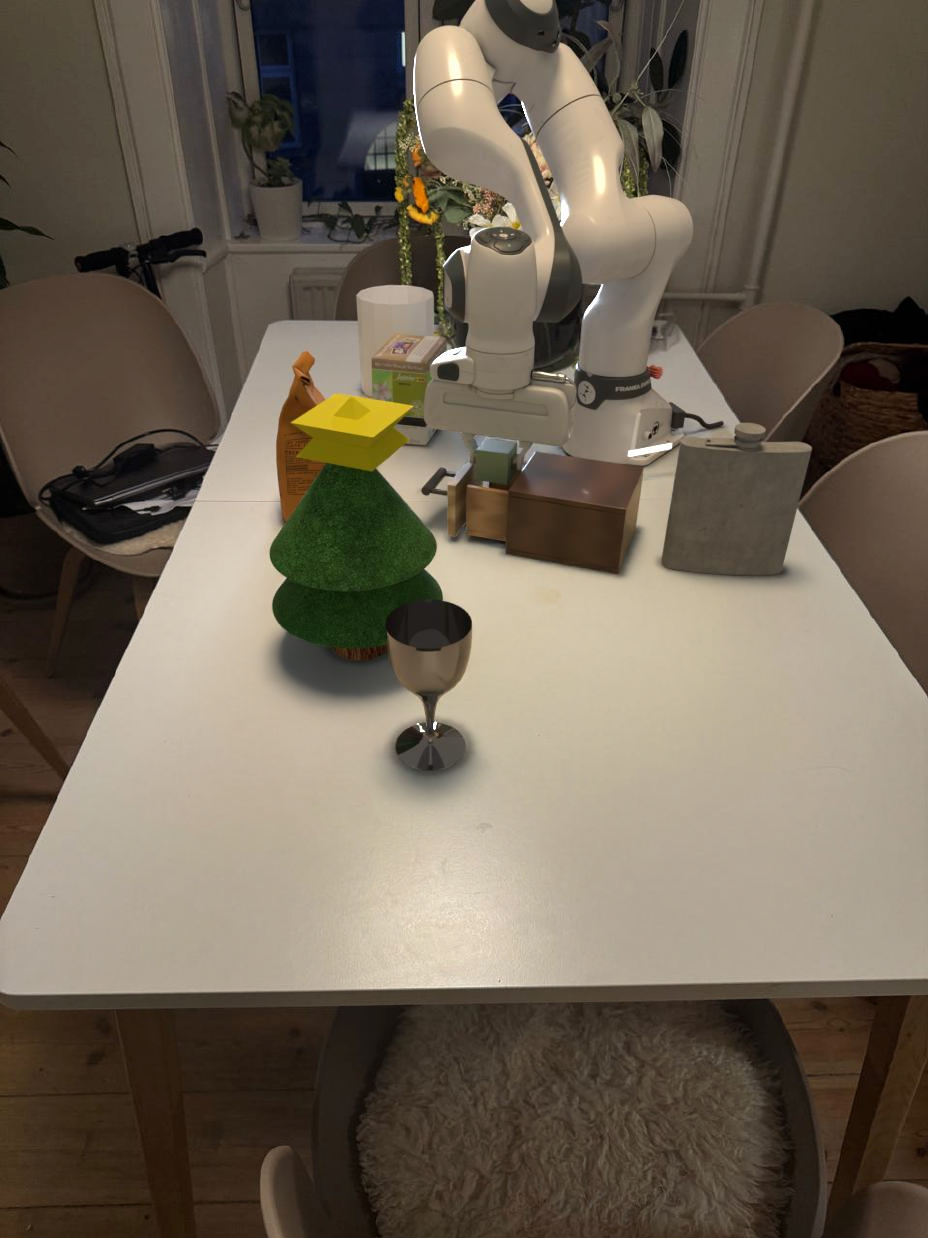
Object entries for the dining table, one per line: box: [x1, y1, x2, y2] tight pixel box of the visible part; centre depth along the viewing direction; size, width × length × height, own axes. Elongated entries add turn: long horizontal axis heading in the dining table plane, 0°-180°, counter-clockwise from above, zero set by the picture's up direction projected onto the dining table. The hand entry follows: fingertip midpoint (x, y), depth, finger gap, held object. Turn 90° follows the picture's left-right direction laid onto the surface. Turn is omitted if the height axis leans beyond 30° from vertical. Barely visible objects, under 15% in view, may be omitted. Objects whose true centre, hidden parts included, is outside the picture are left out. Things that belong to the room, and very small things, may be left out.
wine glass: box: [385, 599, 473, 772], centre depth 84 cm, size 8×8×15 cm
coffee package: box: [275, 350, 327, 522], centre depth 125 cm, size 10×12×22 cm
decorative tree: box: [268, 392, 444, 662], centre depth 94 cm, size 19×19×30 cm
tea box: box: [371, 334, 448, 446], centre depth 153 cm, size 15×10×15 cm, turn 168°
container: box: [355, 284, 435, 398], centre depth 169 cm, size 14×14×18 cm
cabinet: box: [505, 450, 645, 575], centre depth 121 cm, size 16×14×10 cm
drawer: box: [420, 457, 529, 542], centre depth 124 cm, size 19×12×8 cm, turn 71°
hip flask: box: [660, 422, 813, 576], centre depth 112 cm, size 16×4×20 cm, turn 85°
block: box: [476, 437, 518, 485], centre depth 121 cm, size 4×4×4 cm
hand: (496, 465), depth 121 cm, fingers closed on block, 4 cm apart
